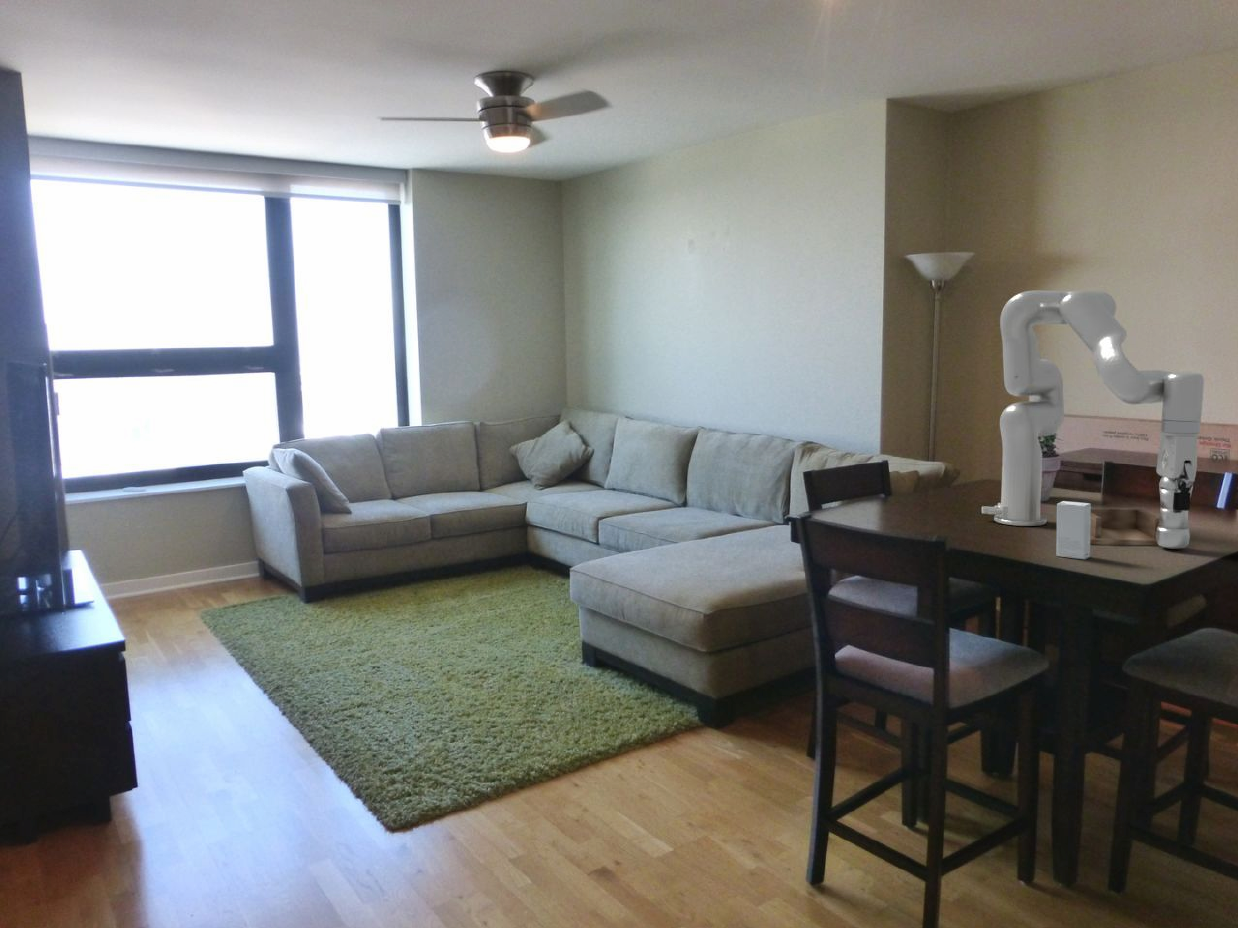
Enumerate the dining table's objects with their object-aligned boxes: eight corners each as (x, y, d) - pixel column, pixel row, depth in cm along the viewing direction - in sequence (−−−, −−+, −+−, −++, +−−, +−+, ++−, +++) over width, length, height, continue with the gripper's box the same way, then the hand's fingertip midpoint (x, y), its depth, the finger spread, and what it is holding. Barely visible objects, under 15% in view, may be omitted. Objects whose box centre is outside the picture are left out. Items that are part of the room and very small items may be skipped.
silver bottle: (1193, 551, 205) (1200, 463, 202) (1160, 550, 206) (1166, 462, 203) (1182, 545, 211) (1189, 459, 208) (1150, 544, 212) (1156, 458, 210)
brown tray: (1087, 544, 215) (1088, 519, 214) (1067, 530, 231) (1068, 506, 230) (1171, 545, 212) (1173, 520, 211) (1145, 531, 228) (1146, 507, 227)
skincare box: (1090, 556, 203) (1093, 502, 202) (1084, 560, 200) (1086, 505, 199) (1061, 552, 208) (1063, 499, 206) (1054, 556, 204) (1056, 502, 203)
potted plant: (1042, 507, 262) (1045, 420, 259) (985, 497, 279) (988, 415, 276) (1082, 500, 271) (1086, 416, 268) (1025, 492, 288) (1028, 412, 285)
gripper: (1147, 424, 214) (1142, 500, 216) (1178, 432, 197) (1171, 514, 200) (1182, 424, 212) (1177, 500, 215) (1216, 432, 196) (1209, 515, 198)
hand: (1174, 506), depth 207 cm, fingers closed on silver bottle, 6 cm apart
